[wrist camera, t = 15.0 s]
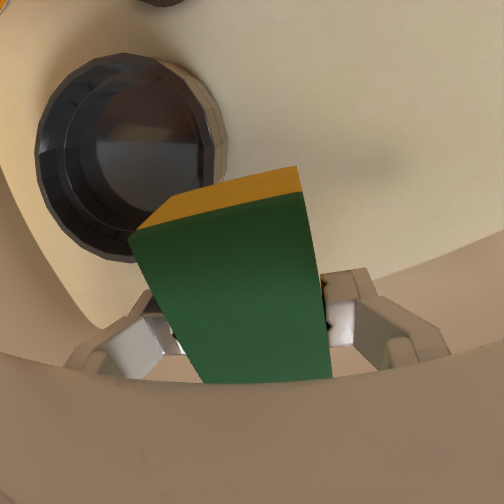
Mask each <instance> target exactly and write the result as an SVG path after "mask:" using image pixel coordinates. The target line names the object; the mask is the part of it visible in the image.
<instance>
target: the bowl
mask: <svg viewBox="0 0 504 504" xmlns="http://www.w3.org/2000/svg"><path fill="white" fill-rule="evenodd" d="M227 149H228V138H227V134H226V130H225V126H224V123H223V119H222V115H221V112H220V109H219V107H218V105H217V104H216V102H215V101H214V99H213V98H212V97H211V95H210V94H209V92H208V91H207V89H206V88H205V86H204V85H203V84H202V83H201V82H200V81H199V80H197V79H196V78H194V77H193V76H192V75H190V74H189V73H187V72H186V71H185V70H183V69H182V68H180V67H179V66H176V65H173V64H170V63H166V62H163V61H160V60H156V59H152V58H148V57H143V56H138V55H133V54H127V53H120V54H114V55H109V56H104V57H100V58H95V59H93V60H91V61H89V62H88V63H86V64H85V65H83V66H81V67H80V68H78V69H77V70H75V71H74V72H72V73H71V74H69V75H68V76H67V77H66V78H65V79H64V80H63V82H62V83H61V84H60V85H59V86H58V88H57V89H56V90H55V91H54V93H53V94H52V95H51V96H50V98H49V100H48V103H47V105H46V107H45V109H44V112H43V114H42V117H41V119H40V121H39V125H38V129H37V135H36V143H35V150H34V155H35V166H36V175H37V182H38V185H39V188H40V191H41V194H42V196H43V199H44V202H45V204H46V207H47V209H48V210H49V212H50V213H51V215H52V216H53V218H54V219H55V221H56V222H57V224H58V225H59V227H60V228H61V229H62V231H63V232H64V233H65V234H67V235H68V236H69V237H70V238H71V239H72V240H73V241H74V242H76V243H77V244H78V245H79V246H80V247H81V248H83V249H85V250H87V251H89V252H91V253H93V254H95V255H97V256H99V257H101V258H103V259H106V260H112V261H118V262H124V263H135V262H137V261H136V259H135V257H134V254H133V252H132V250H131V248H130V246H129V243H128V241H127V239H128V238H129V237H130V236H131V235H132V234H133V233H134V232H135V231H136V230H137V228H138V227H139V226H140V225H141V224H142V223H144V222H145V221H146V220H147V219H148V218H149V217H150V216H151V215H152V214H153V213H154V212H155V211H156V210H157V209H158V208H159V207H160V206H162V205H163V204H164V203H165V202H166V201H167V200H168V199H169V198H170V197H171V196H174V195H178V194H181V193H185V192H188V191H192V190H196V189H199V188H203V187H207V186H210V185H214V184H218V183H222V181H223V178H224V176H225V173H226V167H227Z"/></svg>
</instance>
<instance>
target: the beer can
mask: <svg viewBox="0 0 504 504" xmlns="http://www.w3.org/2000/svg"><path fill="white" fill-rule="evenodd" d="M8 1H9V0H0V13H1V12H2V11H3V10H4V8H5V7H6V5H7V3H8Z"/></svg>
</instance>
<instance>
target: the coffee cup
mask: <svg viewBox="0 0 504 504" xmlns="http://www.w3.org/2000/svg"><path fill="white" fill-rule="evenodd" d="M138 1H141V2H144V3H147V4H150V5H153V6H155V7H168V6H173V5H175V4H178V3H180V2H182V1H184V0H138Z"/></svg>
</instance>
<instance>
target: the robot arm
mask: <svg viewBox="0 0 504 504" xmlns="http://www.w3.org/2000/svg"><path fill="white" fill-rule="evenodd" d="M320 281H321V290H322V301H323V307H324V314H325V321H326V328H327V335H328V343H329V348H332V347H342V346H352V345H354V347H355V348H356V349H357V350H358V351H359V352H360V353H361V354H362V355H363V356H364V357H365V358H366V359H367V360H368V361H369V362H370V363H371V364H372V365H373V366H374V367H375V368H376V369H377V370H378V371H376V372H370V373H364V374H357V375H350V376H343V377H335V378H326V379H316V380H305V381H291V382H274V383H244V384H210V383H181V382H165V381H152V380H142V379H141V378H142V377H143V376H144V375H145V374H147V372H149V371H150V370H151V369H152V368H153V367H154V366H155V365H156V364H157V363H158V362H159V361H160V360H161V359H162V358H163V357H164V355H186V354H185V352H184V350H183V348H182V347H181V345H180V343H179V342H178V340H177V338H176V336H175V335H174V333H173V331H172V329H171V327H170V326H169V324H168V322H167V320H166V318H165V316H164V315H163V313H162V311H161V309H160V307H159V305H158V303H157V301H156V299H155V297H154V296H153V294H152V292H151V290H150V289H148V290H145V291H144V292H143V293H142V295H141V296H140V298H139V299H138V301H137V302H136V304H135V305H134V307H133V308H132V310H131V312H130V313H129V315H128V316H124V317H122V318H121V319H119V320H118V321H116V322H115V323H113V324H112V325H110V326H108V327H107V328H105V329H104V330H102V331H101V332H99V333H98V334H96V335H95V336H93V337H91V338H90V339H89V340H87V341H85V342H84V343H82V344H81V345H79V346H78V347H76V349H75V350H74V352H73V353H72V354H71V356H70V357H69V359H68V360H67V362H66V364H65V365H64V366H63V368H61V367H57V366H52V365H48V364H43V363H39V362H35V361H31V360H27V359H23V358H20V357H16V356H12V355H9V354H6V353H2V352H0V504H504V338H503V339H500V340H498V341H495V342H492V343H489V344H486V345H483V346H480V347H477V348H473V349H470V350H467V351H463V352H460V353H456V354H453V355H452V354H451V353H450V350H449V348H448V346H447V344H446V342H445V340H444V338H443V336H442V334H441V332H440V330H439V328H437V327H436V326H434V325H432V324H430V323H429V322H427V321H425V320H423V319H422V318H420V317H419V316H417V315H415V314H413V313H412V312H410V311H408V310H406V309H404V308H403V307H401V306H399V305H397V304H396V303H394V302H393V301H390V300H389V299H387V298H385V297H383V296H378V294H377V292H376V289H375V287H374V285H373V283H372V280H371V278H370V275H369V273H368V271H367V269H366V268H365V267H364V268H358V269H352V270H346V271H340V272H333V273H326V274H320Z"/></svg>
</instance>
